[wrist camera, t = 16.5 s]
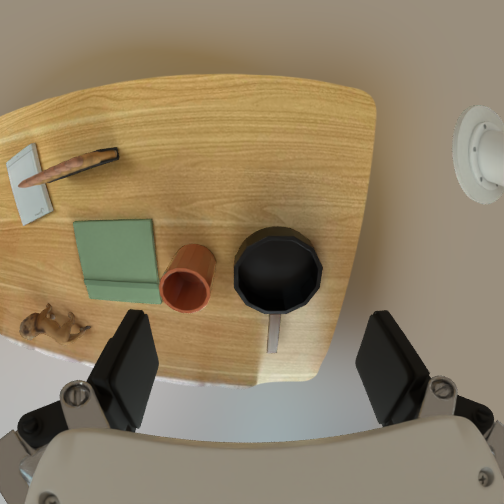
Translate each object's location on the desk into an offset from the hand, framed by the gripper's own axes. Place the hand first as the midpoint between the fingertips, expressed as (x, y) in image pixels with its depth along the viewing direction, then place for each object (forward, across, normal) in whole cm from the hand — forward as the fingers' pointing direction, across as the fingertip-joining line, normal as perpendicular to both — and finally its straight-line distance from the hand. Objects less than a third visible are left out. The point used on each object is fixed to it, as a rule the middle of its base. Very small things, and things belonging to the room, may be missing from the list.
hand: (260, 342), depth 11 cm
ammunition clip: (+28, +24, -6) cm, 38 cm away
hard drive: (+28, +38, -4) cm, 48 cm away
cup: (+28, +8, +10) cm, 31 cm away
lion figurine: (+28, +38, +23) cm, 53 cm away
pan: (+28, -4, +14) cm, 32 cm away
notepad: (+28, +21, +10) cm, 37 cm away
